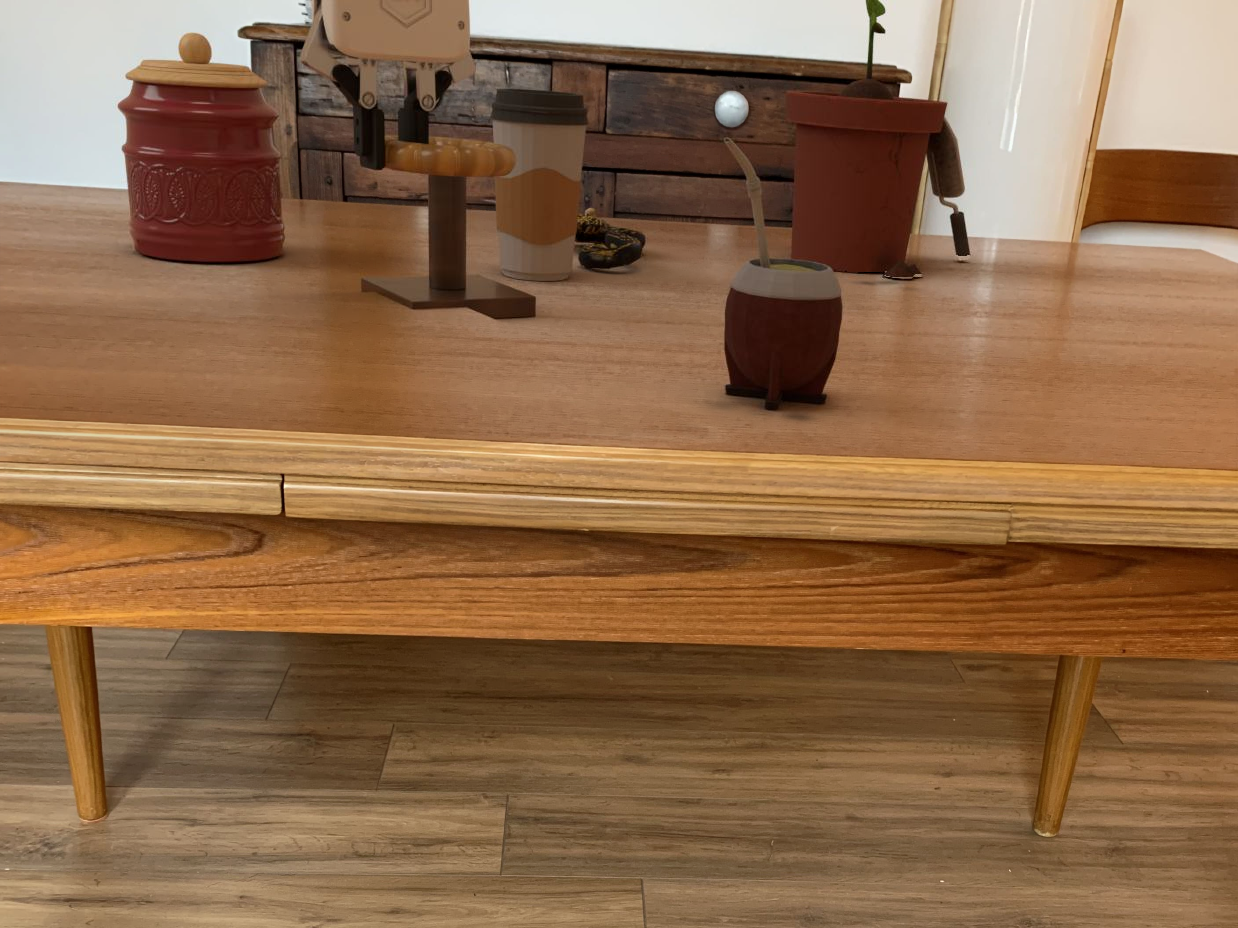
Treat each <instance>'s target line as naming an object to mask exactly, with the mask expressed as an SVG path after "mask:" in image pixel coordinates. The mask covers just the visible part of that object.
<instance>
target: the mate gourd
mask: <svg viewBox="0 0 1238 928" xmlns="http://www.w3.org/2000/svg"><path fill="white" fill-rule="evenodd" d="M723 142H724V144H725V145H726V147H727V148H728V149H729V151H730V152H731V154H732V156H733V157H734V158H735V160H736V161H737V162H738V164H739V166H740V167H741V169H742V172H743V173H744V175H745V178H746V181H745V186H746V189H747V190H746V191H747V196H748V198H750V201H751V208H752V216H753V221H754V222H753V223H754V229H755V236H756V243H757V250H758V251H757V252H758V258H752V259H751V258H750V259H748V260H747V261H745V262H744V264H743V265H742V266H741V268H740V269H739V270H738V272H737V273H736V274H735V276H734V277H733V279H732V280H731V283H730V289H729V291H728V294H727V297H726V302H725V308H724V333H723V335H724V337H723V338H724V339H723V341H724V342H723V346H724V347H723V349H724V356H725V362H726V367H727V371H728V378H729V383H727V384H725V385H724V388H725V394H726V395H730V396H739V397H740V396H741V397H751V398H759V399H764V400H765V402H764V409H765V410H773V411H774V410H775V411H777V410H778V409H779V407H780V405H781V403H782V401H787V402H797V403H810V404H819V405H825V404H826V401H827V397H828V394H827V393H823V392H824V389H825V387H826V384H827V381H828V379H829V378H830V375H831V373H832V370H833V367H834V365H835V362H836V358H837V352H838V347H839V343H840V331H841V326H842V321H843V299H842V287H841V284H840V282H839V280H838V277H837V275H836V274H835V271H833V270H832V269H831V268H830V267H829V266H826V265H824V264H820V263H816V262H810V261H803V260H794V259H791V258H781V257H779V258H778V257H777V258H776V257H770V255H769V248H768V240H767V234H766V225H765V218H764V211H763V210H764V209H763V203H762V195H763V188H762V186H761V185H762V184H761V179H760V177H759V176H757V173H756V170H755V169H754V167H753V165H752V163H751V161H750V160H749V159H748V157H747V156H746V155H745V153H744V152H743V151H742V150H741V149H740V148H739V146H738V145H737V144H736V143H735V142H734V141H733V139H731V138H730V137H728V136H727V137H725V138H723Z"/></svg>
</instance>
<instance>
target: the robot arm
mask: <svg viewBox="0 0 1238 928" xmlns="http://www.w3.org/2000/svg"><path fill="white" fill-rule="evenodd" d="M310 1H311V2H310V3H311V9H310V10H311V12H310V13H311V25H310V28H309V31H308V34H307V36H306V39H305V41H304V44H303V47H302V48H301V52H300V55H299V60H300V62H301V64H302V65H303V66H304V67H307V68H309V69H310V70H312V71H313V72H315V73H318V74H319V75H321V76H323V77H325V78H327V80H328V79H329V80H330V82H331V83H332V84H333V85H334V86H335V87H336V88H337V90H338V91H339V92H340V93H341V94H342V95H343V96H344V97H345V100H346V102H347V103H348V104H349V105H350V106H352V118H353V119H352V121H353V149H354V150H353V151H354V153H355V155H356V156H357V157H359V165H360V166H361V167H362V168H366V169H369V170H371V171H383V169H386V168H385V136H386V131H385V129H386V126H385V125H386V124H385V123H386V122H385V118H386V117H385V112H384V111H383V109H381V108H379V104H378V103H379V100H378V60H383V61H396V62H397V61H398V62H402V64H403V65H402V71H403V72H402V73H403V90H404V91H403V92H404V100H403V107H399V110H398V111H397V136H398V141H405V142H413V143H421V144H429V137H430V112H431V111H433V110H434V109H435V107H436V105H437V101H438V100H439V99H440V98H441V97H442V96H443V95H444V94H445V93H446V91H447V90H449V88H450V86H452V85H454V84H457V83H459V82H461V81H463V80H465V79H467V78H470V77H471V76H474V74H475V73H476V64H475V62H474V59H473V57H472V54H471V51H470V44H471V16H470V13H471V12H470V0H310ZM332 55H335V56H341V57H343V56H344V57H345V64H344V63H342V62H341V61H338V60H337V59H335V58H333V57H332ZM435 64H442V65H441V66H439V67H437V68H435Z"/></svg>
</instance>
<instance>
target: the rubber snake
mask: <svg viewBox="0 0 1238 928" xmlns="http://www.w3.org/2000/svg"><path fill="white" fill-rule="evenodd" d="M576 243H577V244H587V245H583V246H582V247H581V248H580V249H579V251H578V254H577V255H578V256H577V260H578V263H579V264H580V266H582V267H584V268H585V269H598V270H610V269H613V268H619V267H624V266H630V265H631V264H633V263H635V262H637V261H639V260H640V259H641V258H642V256H643V249H644V247H645V246H646V235H645V234H644V232H642V231H640V230H635V229H629V228H626V227H619V226H612V225H611V224H610V223H607V222H606V220H604V219H602V218H598V217H596V209H595V208H593V207H589V208H587V209H586V210H585V211H584V214H583V213H578V222H577V232H576V234H575V244H576Z"/></svg>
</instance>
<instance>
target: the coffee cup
mask: <svg viewBox="0 0 1238 928" xmlns="http://www.w3.org/2000/svg"><path fill="white" fill-rule="evenodd" d="M584 101H585V100H584V94H581V93H575V92H568V91H567V92H566V91H555V90H543V89H542V90H541V89H523V88H497V89H496V95H495V101H493V102H491V113H490V119H491V120H492V132H493V133H492V135H493V143H496V144H501V145H505V146H508V147H509V148H511V149H512V150H513V152H514V153H515V156H516V164H515V166H514V168H513V170H512V171H511V173H509V174H508V175H506V176H499V177H493V178H494V179H493V181H494V194H495V195H494V197H495V217H496V219H495V220H496V230H497V238H498V259H499V268H501V269H502V275H504V276H505V277H508V278H511V279H515V280H516V279H518V280H522V281H523V280H524V281H538V282H553V281H563V280H567V279H569V275H570V274H569V273H570V272H572V271H573V263H574V252H575V244H576V242H575V234H576V232H577V222H578V214H579V210H580V200H581V190H582V171H583V160H584V153H585V152H584V151H585V141H586V130H587V126H588V125H589V121H588V113H589V112H588V108H586V107H585V102H584Z"/></svg>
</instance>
